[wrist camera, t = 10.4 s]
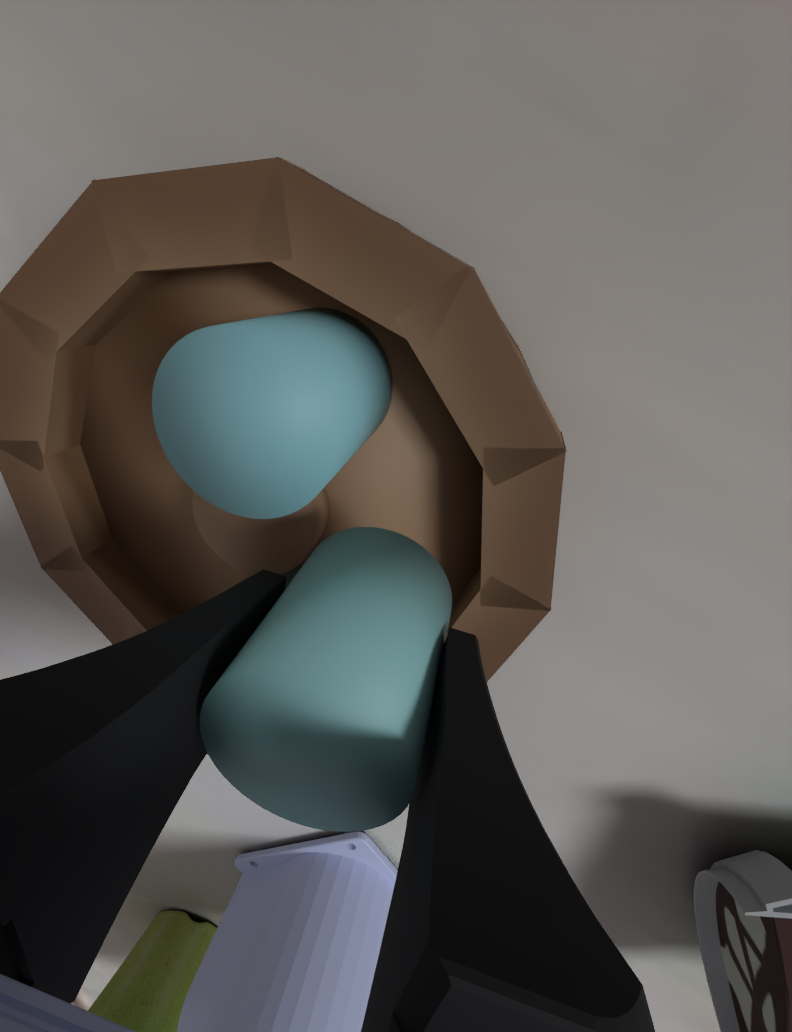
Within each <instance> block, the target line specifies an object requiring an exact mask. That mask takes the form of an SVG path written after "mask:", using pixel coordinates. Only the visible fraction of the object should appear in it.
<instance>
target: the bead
mask: <svg viewBox="0 0 792 1032" xmlns="http://www.w3.org/2000/svg"><path fill="white" fill-rule="evenodd" d="M392 392H393V378H392V371H391V367H390V363H389V360H388V357H387V355H386V352H385V350H384V348H383V347H382V345H381V343H380V342H379V340H378V339H377V337H376V336H375V335H374V334H373V333H372V331H371V330H370V329H369V328H368V327H367V326H365V325H364V324H363V323H362V322H361V321H359V320H358V319H356V318H355V317H353V316H351V315H349V314H347V313H345V312H342V311H339V310H336V309H330V308H310V309H304V310H299V311H293V312H287V313H282V314H276V315H270V316H265V317H259V318H254V319H248V320H242V321H237V322H231V323H225V324H220V325H214V326H208V327H205V328H202V329H198V330H196V331H194V332H192V333H190V334H188V335H186V336H184V337H183V338H182V339H180V340H179V341H178V342H176V343H175V344H174V346H173V347H172V348H171V349H170V350H169V351H168V352H167V354H166V355H165V357H164V358H163V360H162V362H161V364H160V366H159V368H158V370H157V373H156V377H155V380H154V385H153V391H152V412H153V419H154V424H155V429H156V432H157V435H158V438H159V441H160V444H161V446H162V448H163V450H164V453H165V454H166V456H167V458H168V460H169V461H170V463H171V465H172V466H173V468H174V469H175V470H176V472H177V473H178V474H179V476H180V477H181V478H182V479H183V480H184V481H185V483H186V484H187V485H188V486H189V487H191V488H192V489H193V490H194V491H195V492H196V493H197V494H198V495H200V496H201V497H202V498H204V499H205V500H206V501H208V502H210V503H211V504H213V505H214V506H216V507H218V508H220V509H222V510H224V511H227V512H229V513H232V514H235V515H238V516H242V517H247V518H254V519H272V518H278V517H282V516H286V515H289V514H291V513H294V512H296V511H298V510H300V509H301V508H303V507H304V506H306V505H307V504H308V503H309V502H311V501H312V500H313V499H314V498H315V497H316V496H317V495H318V494H319V493H320V491H321V490H322V489H323V488H324V487H325V486H326V485H327V484H328V483H329V482H330V480H331V479H332V478H333V477H334V476H335V475H336V474H337V473H338V472H339V471H340V469H341V468H342V467H343V466H344V465H345V464H346V463H347V462H348V461H349V460H350V458H351V457H352V456H353V455H354V454H355V453H356V452H357V451H358V450H359V449H360V447H361V446H362V445H363V444H364V443H365V442H366V441H367V440H368V439H369V437H370V436H371V435H372V434H373V433H374V432H375V431H376V430H377V429H378V427H379V426H380V425H381V424H382V422H383V420H384V418H385V417H386V415H387V412H388V410H389V407H390V403H391V400H392Z"/></svg>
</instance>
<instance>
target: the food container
mask: <svg viewBox="0 0 792 1032" xmlns="http://www.w3.org/2000/svg"><path fill="white" fill-rule="evenodd" d="M694 910H695V919H696V926H697V933H698V939H699V944H700V950H701V955H702V960H703V964H704V968H705V973H706V977H707V982H708V986H709V989H710V993H711V997H712V1001H713V1005H714V1009H715V1012H716V1016H717V1020H718V1023H719V1027H720V1030H721V1032H792V871H791V870H790V869H789V868H788V867H787V866H786V865H784V864H783V863H782V862H781V861H780V860H778V859H777V858H775V857H773V856H772V855H770V854H768V853H767V852H763V851H758V850H754V851H751V852H748V853H744V854H741V855H737V856H734V857H731V858H727V859H724V860H720V861H717V862H714V863H713V865H712V866H711V868H710V870H704V871H701V872H699V873H698V875H697V876H696V879H695V884H694Z"/></svg>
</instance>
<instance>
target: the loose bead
mask: <svg viewBox="0 0 792 1032" xmlns="http://www.w3.org/2000/svg"><path fill="white" fill-rule="evenodd" d="M451 609H452V593H451V588H450V584H449V581H448V579H447V576H446V574H445V572H444V570H443V569H442V567H441V566H440V564H439V563H438V561H437V560H436V559H435V558H434V557H433V556H432V555H431V554H430V553H429V552H428V551H427V550H426V549H425V548H424V547H422V546H421V545H420V544H418V543H417V542H415V541H414V540H412V539H410V538H408V537H406V536H405V535H402V534H400V533H397V532H395V531H391V530H387V529H383V528H377V527H355V528H350V529H345V530H342V531H340V532H337V533H335V534H333V535H331V536H329V537H328V538H326V539H325V540H324V541H323V542H321V543H320V544H319V545H318V546H317V548H316V549H315V550H314V551H313V553H312V554H311V555H310V557H309V558H308V559H307V561H306V562H305V564H304V565H303V566H302V568H301V569H300V570H299V572H298V573H297V574H296V576H295V577H294V578H293V580H292V581H291V582H290V584H289V585H288V587H287V588H286V589H285V591H284V592H283V593H282V595H281V596H280V597H279V599H278V600H277V601H276V603H275V604H274V605H273V607H272V608H271V610H270V611H269V612H268V614H267V615H266V616H265V618H264V619H263V620H262V622H261V623H260V624H259V626H258V627H257V629H256V630H255V631H254V633H253V634H252V635H251V637H250V638H249V639H248V641H247V642H246V643H245V645H244V646H243V647H242V649H241V650H240V652H239V653H238V654H237V656H236V657H235V658H234V660H233V661H232V662H231V664H230V665H229V666H228V668H227V669H226V670H225V672H224V673H223V675H222V676H221V677H220V679H219V680H218V681H217V683H216V684H215V685H214V687H213V688H212V689H211V691H210V692H209V694H208V695H207V697H206V698H205V700H204V703H203V705H202V708H201V713H200V731H201V737H202V740H203V743H204V746H205V748H206V750H207V752H208V754H209V756H210V758H211V759H212V761H213V763H214V764H215V766H216V767H217V768H218V770H219V771H220V772H221V773H222V775H223V776H224V777H225V778H226V779H227V780H228V781H229V782H230V783H231V784H232V785H233V786H234V787H235V788H236V789H237V790H239V791H240V792H241V793H242V794H243V795H245V796H246V797H247V798H249V799H250V800H251V801H253V802H254V803H256V804H258V805H259V806H261V807H262V808H264V809H266V810H268V811H270V812H271V813H273V814H275V815H277V816H280V817H282V818H284V819H287V820H289V821H292V822H295V823H298V824H300V825H304V826H308V827H312V828H316V829H321V830H327V831H338V832H353V831H363V830H368V829H372V828H376V827H379V826H381V825H384V824H386V823H388V822H390V821H392V820H393V819H395V818H396V817H397V816H399V815H400V814H401V813H402V812H403V811H404V810H405V809H406V807H407V806H408V804H409V803H410V801H411V799H412V797H413V794H414V791H415V787H416V782H417V777H418V772H419V767H420V762H421V757H422V752H423V747H424V743H425V738H426V733H427V728H428V723H429V718H430V713H431V708H432V703H433V698H434V694H435V688H436V682H437V677H438V672H439V667H440V662H441V657H442V652H443V647H444V643H445V640H446V635H447V630H448V625H449V620H450V615H451Z"/></svg>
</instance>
